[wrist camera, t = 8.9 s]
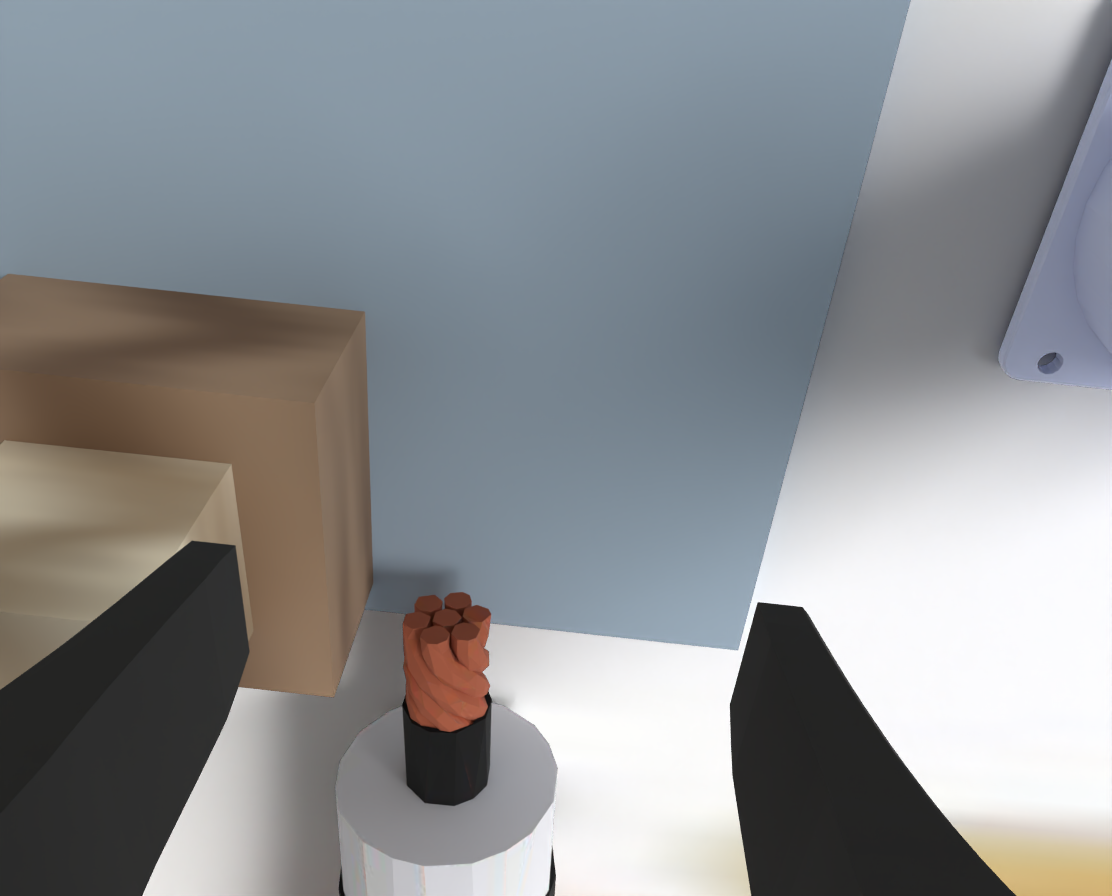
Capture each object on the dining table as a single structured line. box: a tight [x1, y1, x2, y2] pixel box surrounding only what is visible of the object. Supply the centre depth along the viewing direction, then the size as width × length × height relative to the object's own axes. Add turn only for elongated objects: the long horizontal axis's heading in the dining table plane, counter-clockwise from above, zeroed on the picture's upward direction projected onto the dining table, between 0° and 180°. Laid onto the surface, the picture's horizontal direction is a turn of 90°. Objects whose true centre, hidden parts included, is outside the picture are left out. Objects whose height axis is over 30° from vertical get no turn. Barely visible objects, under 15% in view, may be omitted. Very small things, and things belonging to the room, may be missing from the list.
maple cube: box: [0, 440, 254, 689], centre depth 18 cm, size 4×4×4 cm
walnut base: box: [0, 274, 373, 697], centre depth 22 cm, size 8×8×4 cm
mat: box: [0, 0, 911, 650], centre depth 21 cm, size 22×20×1 cm
